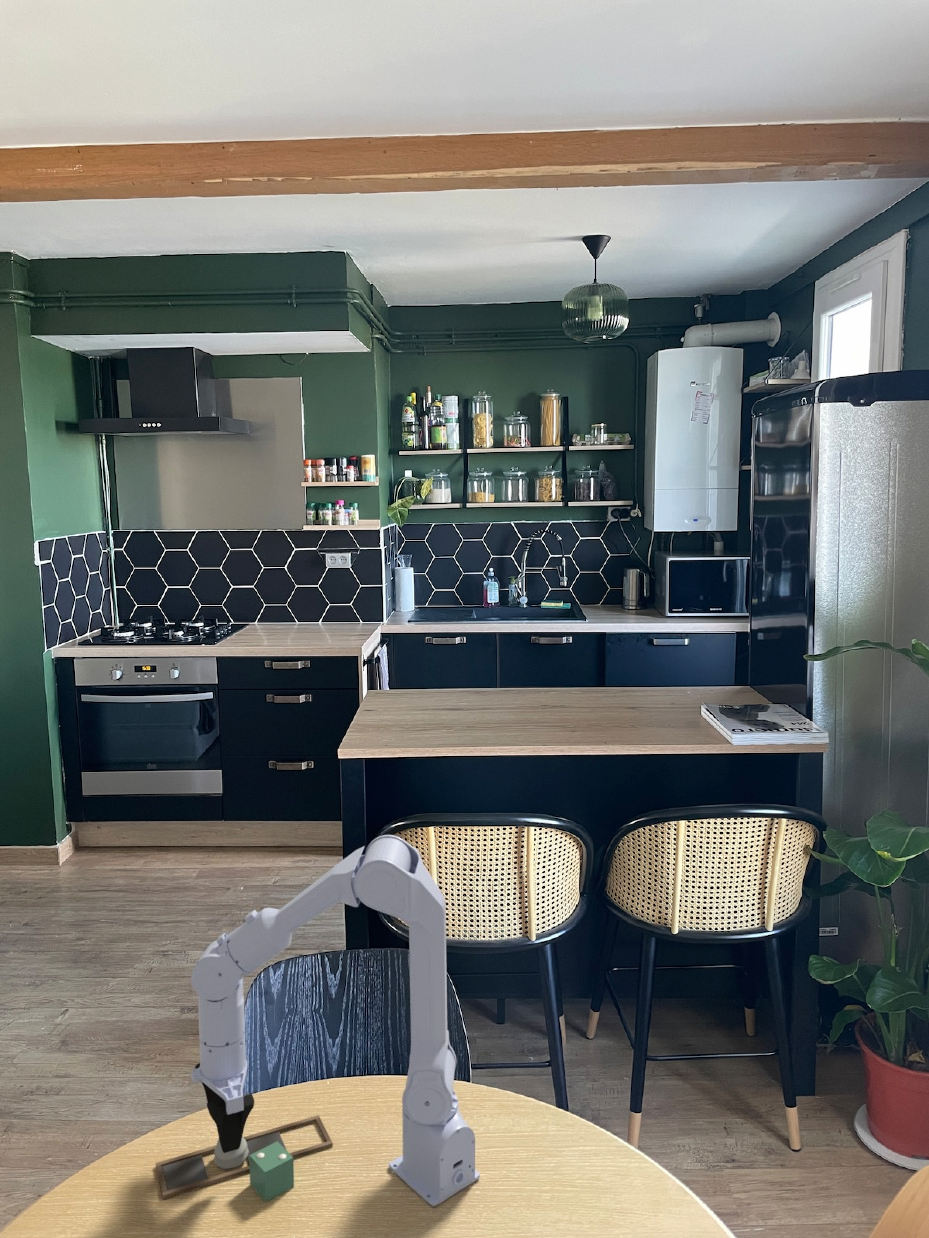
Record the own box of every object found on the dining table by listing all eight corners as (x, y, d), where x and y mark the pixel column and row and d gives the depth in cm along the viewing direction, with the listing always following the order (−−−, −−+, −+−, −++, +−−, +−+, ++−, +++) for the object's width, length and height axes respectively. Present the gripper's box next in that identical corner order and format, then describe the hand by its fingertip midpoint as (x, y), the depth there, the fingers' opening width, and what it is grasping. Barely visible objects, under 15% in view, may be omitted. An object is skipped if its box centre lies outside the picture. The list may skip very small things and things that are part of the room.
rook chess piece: (254, 1146, 123) (248, 1092, 122) (241, 1171, 118) (235, 1115, 117) (222, 1145, 123) (216, 1091, 122) (208, 1170, 119) (202, 1114, 118)
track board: (318, 1118, 129) (318, 1114, 129) (332, 1146, 124) (332, 1142, 123) (155, 1166, 120) (155, 1162, 120) (163, 1199, 114) (162, 1195, 114)
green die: (293, 1186, 116) (293, 1156, 116) (265, 1201, 114) (265, 1171, 113) (278, 1169, 119) (277, 1140, 119) (250, 1184, 116) (249, 1154, 116)
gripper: (181, 1014, 123) (184, 1108, 125) (200, 1073, 110) (204, 1177, 112) (234, 1002, 126) (236, 1093, 128) (259, 1058, 113) (261, 1159, 115)
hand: (225, 1131), depth 120 cm, fingers open, 7 cm apart
